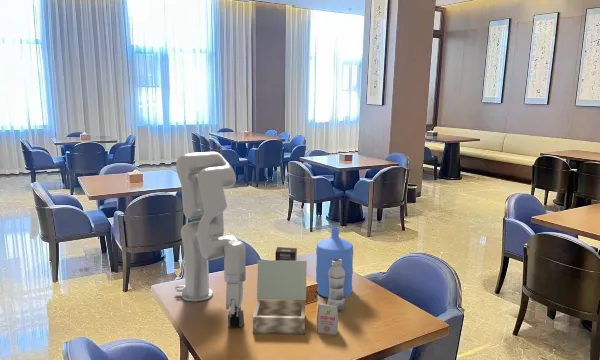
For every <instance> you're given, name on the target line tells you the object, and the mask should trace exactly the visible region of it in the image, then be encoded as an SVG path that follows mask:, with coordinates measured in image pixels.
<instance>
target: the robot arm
mask: <svg viewBox="0 0 600 360" xmlns="http://www.w3.org/2000/svg"><path fill="white" fill-rule="evenodd" d="M175 169H176V174H177V176H178V179H179V182H180V186H181V197H182V211H183V215H184V217H186V218H187V219H190V220H191V219H192V220H193V219H199V218H200V220H195V221H190V222H187V223H186V224H184V225H183V226H182V227H181V229H180V237H181V241H182V246H183V257H184V258H183V260H184V279H185V280H184V281H185V282H184V284H183V285H179V284H178V285H177V284H176V285H175V291H176V292H177V293H181V292H182V293H181V298H182V299H183V301H186V302H190V301H191V303H194V302H196V303H197V302H198V301H199V302H203V301H207V300H209V299H211V298H212V297H213V295H214V291H213V290H212V289H211V288H210V283H209V282H210V280H209V279H210V278H209V277H210V276H209V273H210V271H209V261H214V260H217V259H221V258H223V262H224V263H223V265H224V266H223V270H224V271H223V272H224V282H225V283H226V287H225V289H226V290H225V309H226V311H227V310H229V311H230V327H229V328H240V327H239V316H238V310H242V303H243V301H244V282H245V281H246V280H247V274H246V269H247V268H246V244H245V243H244V241H241V240H239V239H238V238H237V236H235V235H232V234H230V235H228V234H227V235H225V234H224V233H225V225H224V211H225V210H226V209H228V203H227V199H226V195H225V191H224V189H227V188H232V187H234V186H235V185H236V180H237V179H236V177H237V176H236V173H235V170H234V168H233V167H232V165H231V164H230V163H229V162H228V161H227V160H226V158H225V157H224V156H223V155H222V154H221V153H219V152H217V151H205V152H204V151H203V152H191V153H190V152H189V153H184V154H182V155H180V156H179V157H177V159H176V168H175ZM199 302H198V303H199ZM235 310H237V313H236V312H235Z"/></svg>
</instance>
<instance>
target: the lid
mask: <svg viewBox="0 0 600 360" xmlns="http://www.w3.org/2000/svg"><path fill="white" fill-rule="evenodd" d="M307 261H308V260H297V261H277V260H275V259H273V260H270V259H269V260H268V259H266V260H265V259H263V260H262V259H259V260H257V283H256V285H257V286H256V288H257V289H256V300H292V301H307V264H308V263H307Z"/></svg>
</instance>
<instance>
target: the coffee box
mask: <svg viewBox="0 0 600 360" xmlns="http://www.w3.org/2000/svg"><path fill="white" fill-rule="evenodd" d="M274 255H275V258H274V260H277V261H298V259H297V258H298V257H297V256H298V249H297V247H281V246H277V247H276V249H275V254H274Z"/></svg>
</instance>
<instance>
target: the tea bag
mask: <svg viewBox="0 0 600 360" xmlns="http://www.w3.org/2000/svg"><path fill="white" fill-rule="evenodd" d="M316 313H317V315H316V334H322V335H328V336H335V337H336V336H337V333H338V331H339V311H338V309H337V306H330V305H328V304H321V303H318V304H317V312H316Z"/></svg>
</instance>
